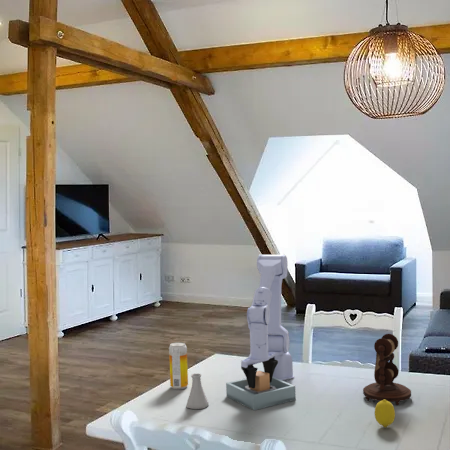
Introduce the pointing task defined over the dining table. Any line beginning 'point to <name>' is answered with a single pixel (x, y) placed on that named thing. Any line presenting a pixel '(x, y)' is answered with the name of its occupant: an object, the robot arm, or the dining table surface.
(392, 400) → the brown tall knobby piece
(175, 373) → the beer can
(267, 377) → the plug
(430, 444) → the dining table surface
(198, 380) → the flask
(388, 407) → the lemon
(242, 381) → the socket box
